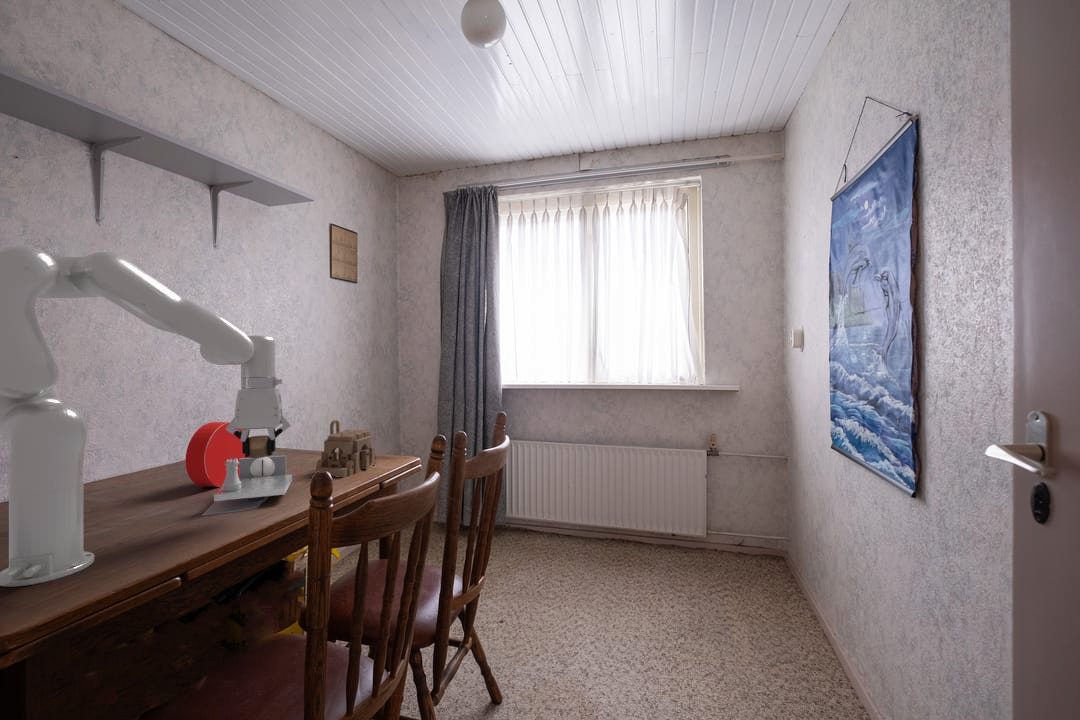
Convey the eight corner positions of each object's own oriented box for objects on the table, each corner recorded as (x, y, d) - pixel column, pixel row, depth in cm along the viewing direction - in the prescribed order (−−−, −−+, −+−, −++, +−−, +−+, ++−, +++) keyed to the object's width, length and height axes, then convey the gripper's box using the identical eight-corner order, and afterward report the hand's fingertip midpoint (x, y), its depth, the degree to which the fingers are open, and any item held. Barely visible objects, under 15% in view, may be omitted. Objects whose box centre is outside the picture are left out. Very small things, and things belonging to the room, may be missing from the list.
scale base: (292, 509, 123) (292, 468, 123) (202, 518, 115) (202, 475, 115) (300, 488, 142) (300, 453, 142) (224, 495, 135) (224, 458, 135)
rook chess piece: (231, 492, 120) (231, 461, 120) (217, 491, 121) (217, 461, 121) (246, 487, 124) (246, 458, 124) (232, 486, 125) (232, 457, 125)
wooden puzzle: (350, 483, 149) (350, 425, 149) (308, 481, 151) (308, 424, 151) (382, 467, 171) (382, 417, 171) (345, 465, 173) (345, 416, 173)
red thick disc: (233, 477, 155) (233, 418, 155) (250, 477, 155) (250, 418, 155) (185, 494, 135) (185, 426, 135) (204, 495, 135) (204, 427, 135)
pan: (284, 504, 124) (284, 488, 124) (213, 511, 118) (213, 494, 118) (292, 488, 139) (292, 474, 139) (229, 494, 133) (229, 479, 133)
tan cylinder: (267, 457, 116) (267, 437, 116) (247, 458, 115) (247, 438, 115) (270, 453, 120) (270, 434, 120) (251, 455, 119) (250, 435, 119)
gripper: (297, 382, 124) (298, 450, 124) (223, 384, 118) (224, 455, 118) (293, 384, 117) (294, 455, 117) (214, 385, 111) (215, 461, 111)
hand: (259, 454), depth 118 cm, fingers closed on tan cylinder, 4 cm apart
